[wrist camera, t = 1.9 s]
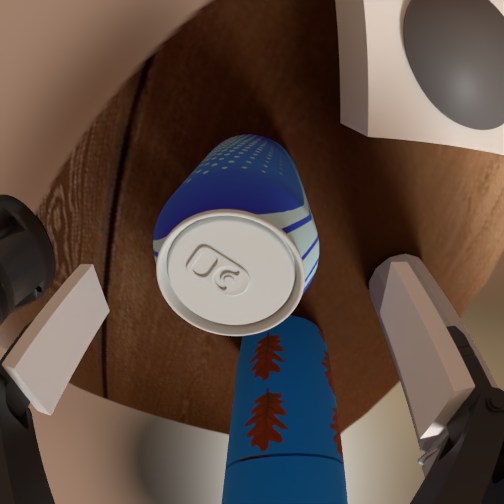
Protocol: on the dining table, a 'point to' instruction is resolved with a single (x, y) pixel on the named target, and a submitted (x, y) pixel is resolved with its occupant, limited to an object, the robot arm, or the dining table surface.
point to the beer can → (237, 239)
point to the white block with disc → (423, 70)
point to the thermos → (284, 421)
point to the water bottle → (448, 318)
